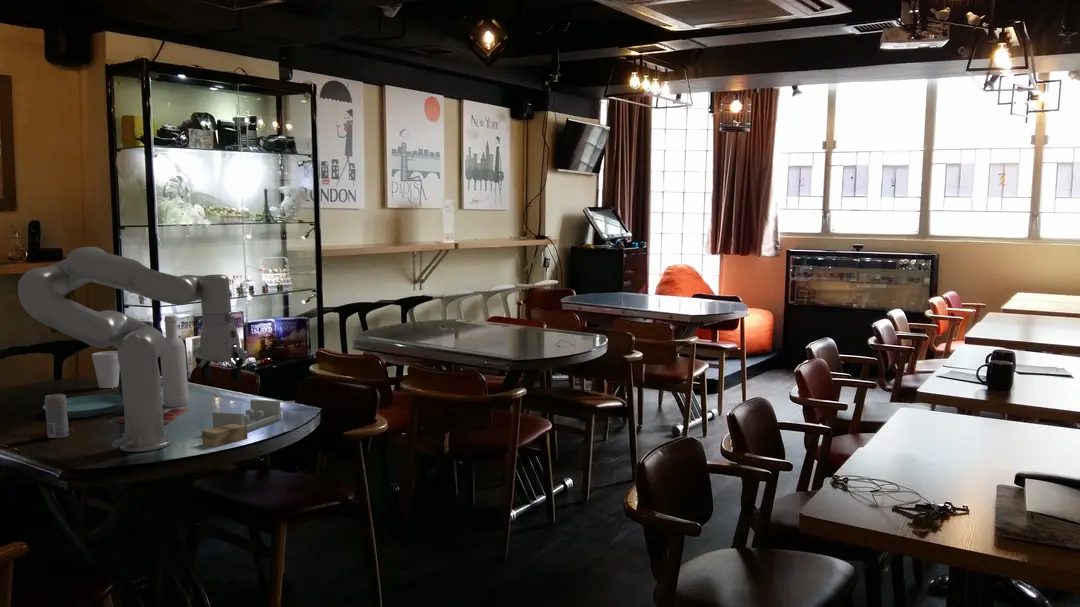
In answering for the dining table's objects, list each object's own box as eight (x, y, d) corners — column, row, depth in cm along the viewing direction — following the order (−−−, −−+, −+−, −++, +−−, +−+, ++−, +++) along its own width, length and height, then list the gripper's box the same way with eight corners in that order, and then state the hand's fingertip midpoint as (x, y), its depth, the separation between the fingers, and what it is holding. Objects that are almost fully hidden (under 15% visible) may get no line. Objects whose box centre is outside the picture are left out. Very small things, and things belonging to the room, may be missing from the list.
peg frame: (242, 435, 242) (240, 414, 241) (213, 432, 245) (212, 412, 245) (281, 420, 259) (280, 400, 258) (253, 418, 262) (252, 399, 262)
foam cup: (99, 385, 323) (97, 351, 321) (125, 384, 324) (123, 350, 323) (91, 390, 313) (88, 355, 312) (118, 389, 315) (115, 354, 314)
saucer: (37, 424, 263) (36, 413, 262) (50, 408, 285) (49, 398, 285) (124, 415, 272) (123, 405, 271) (129, 401, 294) (129, 391, 294)
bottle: (190, 401, 289) (185, 313, 286) (187, 406, 282) (181, 316, 279) (165, 403, 287) (159, 315, 284) (161, 408, 280) (155, 317, 277)
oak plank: (215, 448, 230) (214, 433, 229) (202, 445, 233) (201, 430, 233) (247, 439, 238) (246, 425, 237) (234, 437, 241) (233, 423, 241)
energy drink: (64, 433, 249) (61, 392, 248) (72, 435, 246) (68, 394, 244) (44, 437, 245) (41, 396, 244) (52, 439, 242) (48, 398, 240)
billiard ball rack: (115, 417, 261) (164, 403, 280) (116, 424, 261) (165, 410, 280) (163, 421, 255) (210, 406, 274) (163, 428, 255) (210, 413, 274)
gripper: (252, 318, 233) (257, 379, 235) (200, 318, 239) (205, 378, 241) (234, 321, 226) (239, 385, 228) (181, 321, 232) (186, 383, 234)
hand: (222, 381), depth 234 cm, fingers open, 9 cm apart
